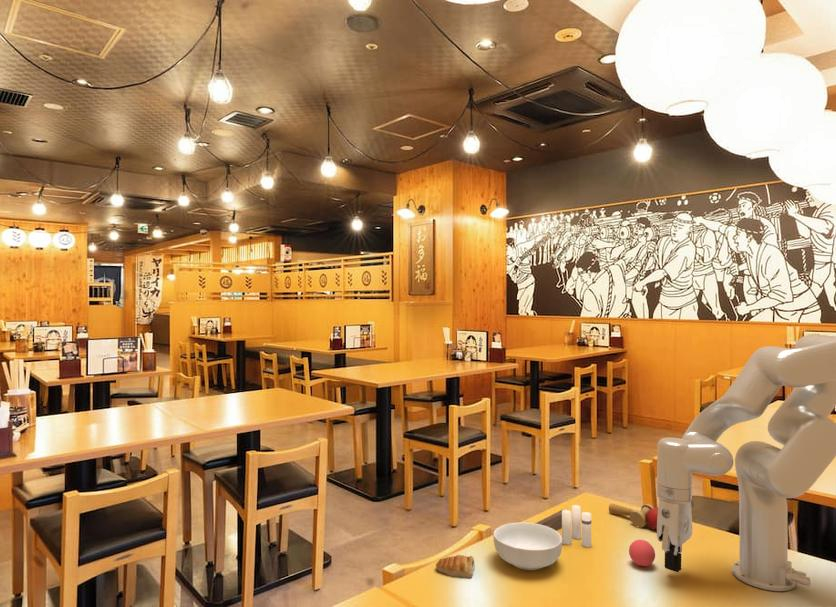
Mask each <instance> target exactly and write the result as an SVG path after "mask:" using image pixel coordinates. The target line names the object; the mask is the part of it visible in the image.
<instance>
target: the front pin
mask: <svg viewBox="0 0 836 607" xmlns="http://www.w3.org/2000/svg"><path fill="white" fill-rule="evenodd" d="M581 546H582V547H584V548H592V513H591V512H589V511H581Z"/></svg>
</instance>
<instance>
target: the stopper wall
mask: <svg viewBox="0 0 836 607" xmlns="http://www.w3.org/2000/svg"><path fill="white" fill-rule="evenodd" d="M562 510H563V509H562ZM562 510H559V511H557V512H554V513H553V514H551V515H549V516H547V517H545V518H543V519H541V520H539V521H536V522H535V524H540V525H544V526H547V527H550V528H552V529H554V530H556V531H557V532H558V530H560V529H562Z"/></svg>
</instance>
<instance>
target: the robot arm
mask: <svg viewBox="0 0 836 607" xmlns="http://www.w3.org/2000/svg"><path fill="white" fill-rule="evenodd" d="M783 386H784V387H787V388H793V389H792V391H791V392H790V394H788V396H787V397H786V398H785V400H784V401H783V402H782V403H781V404H780V405H779V407H778V408H777V410H776V411H775V412H774V413H773V414H772V416H771V418H770V419H769V421H768V423H767V432H768V434H769V436H770V437H771V438H772V439H773V440H774V441H775V442H776V443H779V444H780V445H782V448H780V447H778V446H777V447H776V446H774V445H772V444H771V443H768V442H764V441H759V440H758V441H757V440H752V441H747V442H745V443H743V444H742V445H741V446H740V447H739V448H738V449H737V451H736V453H735V458H734V457H733V454H732V452H731V450H729V449H728V448H727V447H726V446H724V445H723V444H721V443H719V442H717V441H718V440H719V438H721V436H722V435H723V434H724V432H726V431H727V430H728V429H729V428H731V427H733V426H735V425H737V424H740V423H741V424H742V423H744V422H748V421H749V422H750V421H752V420H755V419H758V418H760V417H761V416H762V415H763V414H764V413H765V411H766V410H767V408H768V406H769V405H770V404H771V402H772V401H773V399H774V397H775V396H776V395H777V394H778V392H779V391H780V390H781V388H782V387H783ZM835 407H836V336H834V335H828V334H827V335H825V334H807V335H804V336H802V337H800V338H798V339H797V340H796V342H795V344H794V347H793V348H791V347H790V348H789V347H783V346H782V347H781V346H774V345H770V346H769V345H768V346H767V345H766V346H762V347H759V348H758V349H756V350H755V351H754V352H753V353H752V355H751V356H750V357H749V358H748V360H747V361H746V363H745V365H744V366H743V368H742V369H741V371H739V373H738V375H737V376H736V378H734V380H733V382H732V383H731V385H730V386H729V388H728V389H727V390H726V392H725V393H724V395H722V396H721V397H720V398H718V399H717V400H715V401H713V403H711V404H710V405H708V406H707V407H705V408H704V409H703V410H702V411H701V412H700V413H698V415H697V416H695V418H694V419H693V420H692V422H691V423H690V425H689V426H688V428H687V429H686V430H685V432H684V434H683V436H682V437H681V438H679V437H672V436H671V437H669V436H668V437H662V438H660V439H659V440H658V442H657V447H656V448H657V451H656V452H657V455H656V458H657V462H656V464H657V465H656V497H657V498H658V507H657V508H658V517H657V530H656V537H657V541H658V542H661V550H662V551H664V568H665V569H667V570H670V571H672V572H675V573H679V572H680V571H681V570H682V552H683V545H684V544H685V543H686V542H687V541H688V540H690V539H691V538H692V536H693V512H692V511H693V510H692V503H691V502H692V501H693V473H695V474H701V475H707V476H715V477H716V476H723V475H726V474H727V473H729V472H730V471H731V470H732V468H733V466H734V467H735V471H736V472H735V473H736V478H737V484H738V494H739V495H738V498H739V502H738V503H739V504H738V505H739V507H738V508H739V510H738V512H739V513H738V515H739V518H738V519H739V520H738V521H739V528H738V529H739V534H738V535H739V560H738V561H736V562H734V563H733V564H732V565H731V567H732V568H731V570H732V571H731V572H732V573H733V576H735V577H736V578H737V579H738V580H740V581H741V582H743V583H745V584H747V585H749V586H752V587H754V588H758V589H761V590H766V591H772V592H787V591H791V590H793V589H794V588H796V586H797V583H798V584H799V585H802V586H806V587H808V588H809V587H810V586H811V577H809V576H807V572H804V571H801V570H796V569H795V568H793V567H792V561H790V560H788V558H789V557H788V556H789V555H788V554H789V552H788V551H789V550H788V545H789V544H788V501H787V500H788V499H795V498H798V497H801V496H802V495H804V494H805V493H807V492H808V491H809V490H810V489H811V488H812V486H813V485H814V484H815V483H816V481H818V479H820V477H821V475H822V474H823V473H824V472H825V471H826V469H827V468H828V467H829V465H830V464H831V463H832V462H833V461H834V459H835V458H836V422H835V421H834V420H833V419H832V418H830V415H831V413H832V412H833V410H835Z"/></svg>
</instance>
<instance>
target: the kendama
mask: <svg viewBox="0 0 836 607" xmlns="http://www.w3.org/2000/svg"><path fill="white" fill-rule="evenodd" d="M608 511H609V512H608V513H610V514H612V515H620V516H626V517H627V516H628V517H629V520H630V522H631V523H632V525H633V526H634V527H636V526H638V527H637V528H639V527H640V529H641V528H643V527H645V526H646V525H648V526H649V527H650V528H651V529H653V530H655V531H657V517H658V507H654V506H652V504H649V503H645V504H643V505H642V506H641V507H640V510H638V509H632V508H630V507H627V506H622V505H619V504H615V503H610V504H609V506H608Z"/></svg>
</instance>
